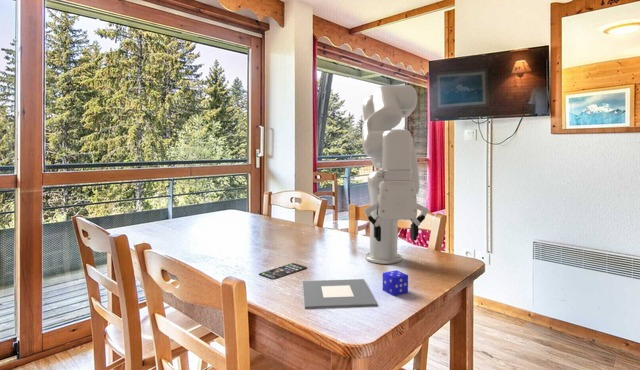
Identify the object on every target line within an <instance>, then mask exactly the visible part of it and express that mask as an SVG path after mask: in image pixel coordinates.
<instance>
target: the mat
mask: <svg viewBox="0 0 640 370" xmlns="http://www.w3.org/2000/svg"><path fill="white" fill-rule="evenodd" d="M302 285H303V286H302V287H303V298H304V299H303V301H304V309H325V308H326V309H327V308H328V309H330V308H351V307H352V308H354V307H355V308H356V307H358V308H359V307H376V306H378V302H377V301H376V299H375V297H374V296H373V293H372V291H371V290H370V288H369V286H368V284H367V282H366V280H365V279H364V278H359V279H358V278H357V279H331V280H330V279H326V280H304V281H303V280H302Z"/></svg>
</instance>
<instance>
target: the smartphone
mask: <svg viewBox="0 0 640 370" xmlns="http://www.w3.org/2000/svg"><path fill="white" fill-rule="evenodd" d="M307 269H308V268H307V266H304V265H301V264H298V263H294V262H291V263H288V264H285V265H282V266H278V267H275V268H272V269H269V270H266V271H262V272H260V273H258V276H260V277H263V278H266V279H269V280H271V281H273V280H277V279H280V278H283V277H286V276H290V275H293V274H295V273H298V272H301V271H304V270H307Z"/></svg>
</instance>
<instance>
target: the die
mask: <svg viewBox="0 0 640 370" xmlns="http://www.w3.org/2000/svg"><path fill="white" fill-rule="evenodd" d="M382 291H383V292H385V293H386V294H389V295H391V296H392V297H396V296H399V295H405V294H408V293H409V275H408V274H406V273H405V272H404V273H403V272H401V271H399V270H397V269H396V270H391V271H386V272H382Z"/></svg>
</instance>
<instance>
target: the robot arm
mask: <svg viewBox="0 0 640 370" xmlns="http://www.w3.org/2000/svg"><path fill="white" fill-rule="evenodd" d="M417 104H418V94H417V90H416V89H415V88H414V86H412V85H410V84H397V85H395V84H388V85H382V86H378V87H377V88H376V89H375V90H374V92H373V93H372V94H371V95H369V96H366V97H365V98H364V99H363V102H362V113H363V114H362V115H363V120H364V123H363V126H362V129H361V139H362V140H361V141H362V150H363V153H364V154H365V155H366V156H367V157H370V161H371V164H372V166H373V167H374V168H377V169H376V170H373V171H371V172H370V173H369V174H368V177H367V188H368V194H369V206H368V207H366V208H364V209H363V212H364V214H365V216H366V218H367V220H368V221H369V252H368V253H366V254H365V260H367V261H368V262H371V263H374V264H381V265H389V264H390V265H391V264H397V263H400V262H401V261H402V259H403V258H402V255H401V254H400V253H398V235H399V234H398V230H399V229H398V226H399V225H398V224H399V223H398V222H399V221H406V220H407V221H411V224H410V236H409V237H410V239H411V240H413V241H417V238H418V237H419V226H420V225H421V223H422V222H423V221H425V219H426V216H427V214H428V212H429V209H428V208H427V207H425V206H423V205H421V204H419V203H418V200H417V195H418V194H419V191H420V176H419V164H418V156H417V150H416V147H415V145H414V138H413V136H412V133H411V132H410V130H408V129H403V128H402V129H399V128H398V129H395V128H396V127H397V126H398V125H400V123H401V121H402V120H403V119H404V118H408V117H410V116H411V114H412V113H413V112H414V111H415V109H416V107H417ZM418 210H419V211H420V214H419V215H418Z"/></svg>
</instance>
